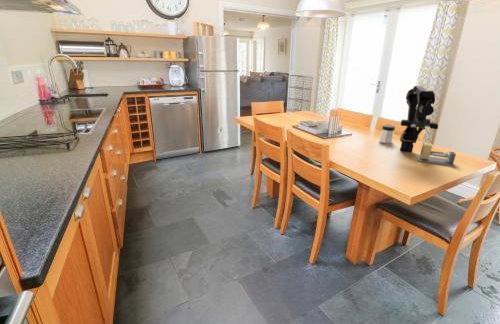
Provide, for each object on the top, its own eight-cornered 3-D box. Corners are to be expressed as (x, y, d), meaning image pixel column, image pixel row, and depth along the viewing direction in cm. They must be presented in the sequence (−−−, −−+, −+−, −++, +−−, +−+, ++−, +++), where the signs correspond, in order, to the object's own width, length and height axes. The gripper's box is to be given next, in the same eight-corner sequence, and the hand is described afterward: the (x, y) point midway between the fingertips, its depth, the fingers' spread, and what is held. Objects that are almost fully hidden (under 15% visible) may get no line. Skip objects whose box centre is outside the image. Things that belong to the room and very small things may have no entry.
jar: (394, 142, 200) (398, 126, 196) (387, 144, 197) (390, 127, 192) (384, 139, 207) (387, 124, 203) (376, 140, 204) (379, 125, 200)
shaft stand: (417, 161, 165) (420, 151, 162) (416, 156, 173) (418, 146, 171) (453, 166, 158) (456, 155, 155) (450, 160, 166) (453, 150, 164)
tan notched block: (421, 158, 165) (424, 145, 162) (419, 155, 170) (423, 142, 167) (428, 159, 164) (432, 146, 161) (427, 156, 169) (430, 143, 166)
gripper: (404, 113, 157) (398, 139, 162) (442, 116, 150) (435, 143, 155) (403, 110, 166) (397, 135, 172) (439, 113, 159) (432, 138, 165)
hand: (415, 138), depth 166 cm, fingers closed
